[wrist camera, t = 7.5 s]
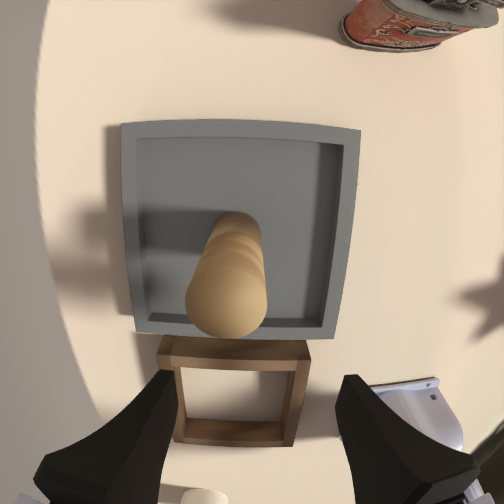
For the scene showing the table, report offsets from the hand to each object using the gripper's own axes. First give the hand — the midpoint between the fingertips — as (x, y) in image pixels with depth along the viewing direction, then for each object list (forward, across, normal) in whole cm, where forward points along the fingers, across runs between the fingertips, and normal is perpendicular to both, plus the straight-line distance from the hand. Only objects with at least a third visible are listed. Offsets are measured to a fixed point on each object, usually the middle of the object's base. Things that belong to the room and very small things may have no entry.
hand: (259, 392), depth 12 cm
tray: (+10, +1, -4) cm, 11 cm away
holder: (+10, +1, +10) cm, 14 cm away
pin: (+9, +1, -4) cm, 10 cm away
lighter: (+10, -8, -19) cm, 23 cm away
